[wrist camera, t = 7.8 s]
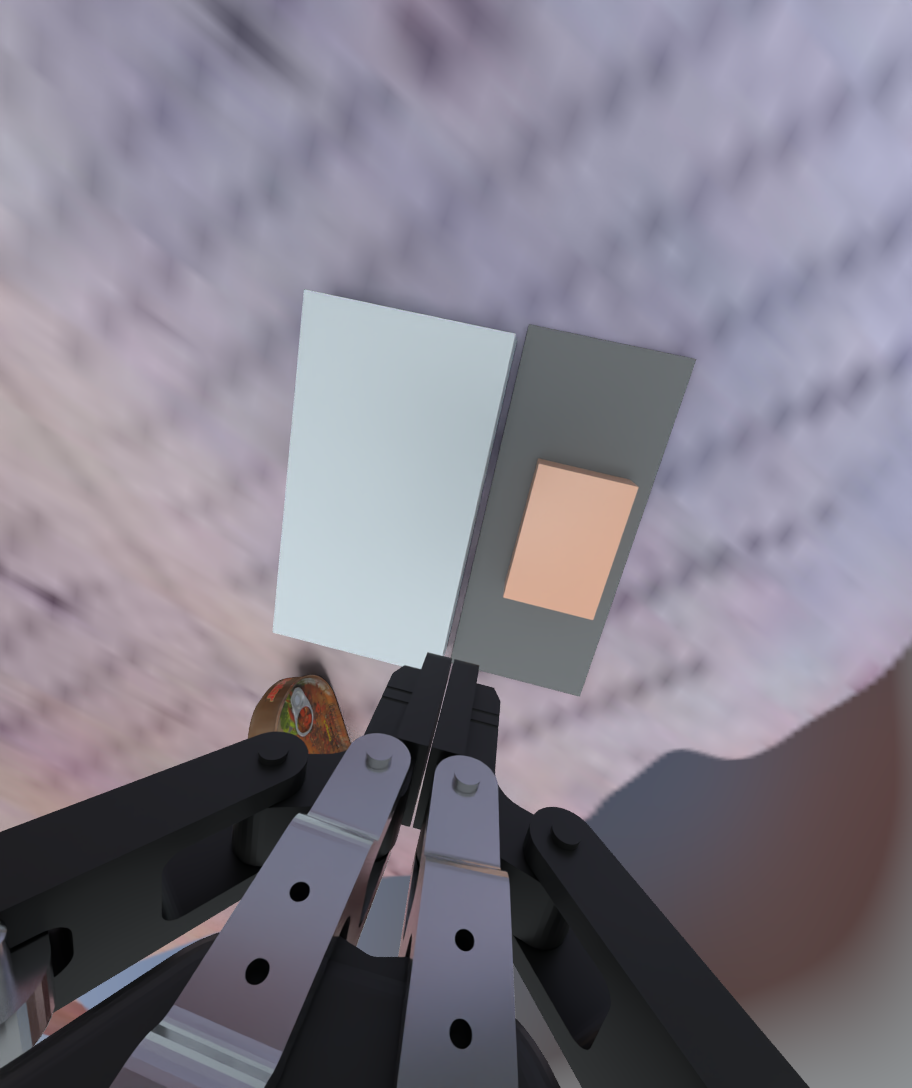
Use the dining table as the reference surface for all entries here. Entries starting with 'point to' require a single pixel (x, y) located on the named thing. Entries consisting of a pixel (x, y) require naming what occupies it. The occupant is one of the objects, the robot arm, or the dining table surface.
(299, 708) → the tin
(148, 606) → the dining table surface
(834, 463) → the dining table surface
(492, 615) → the mat
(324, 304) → the plate
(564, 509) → the peach rectangular block
